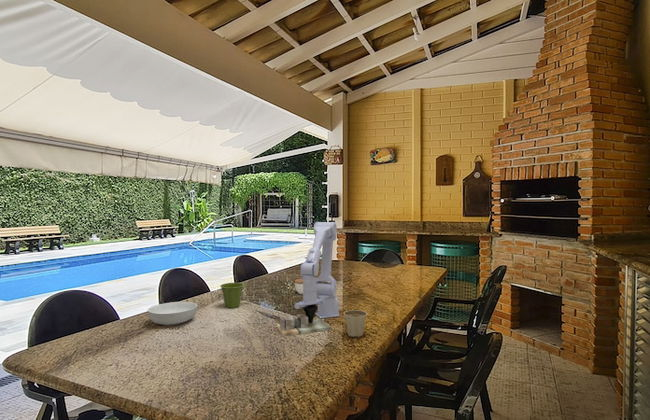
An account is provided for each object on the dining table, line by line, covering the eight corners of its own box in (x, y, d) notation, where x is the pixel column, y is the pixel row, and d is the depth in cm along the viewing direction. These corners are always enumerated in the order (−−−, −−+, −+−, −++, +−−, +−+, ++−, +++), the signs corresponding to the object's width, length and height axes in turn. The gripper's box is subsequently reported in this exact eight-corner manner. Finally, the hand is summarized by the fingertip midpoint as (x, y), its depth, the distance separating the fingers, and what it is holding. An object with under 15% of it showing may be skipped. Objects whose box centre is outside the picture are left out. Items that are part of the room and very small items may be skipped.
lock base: (321, 321, 169) (321, 309, 169) (331, 329, 158) (331, 317, 158) (276, 327, 162) (276, 314, 162) (283, 336, 150) (283, 323, 150)
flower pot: (369, 332, 155) (369, 311, 155) (364, 339, 146) (364, 317, 146) (347, 329, 158) (347, 309, 158) (341, 337, 149) (340, 315, 149)
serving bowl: (207, 318, 176) (207, 303, 176) (172, 332, 157) (171, 315, 157) (174, 313, 184) (174, 299, 184) (137, 326, 165) (136, 310, 165)
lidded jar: (292, 292, 226) (291, 276, 226) (308, 290, 231) (308, 275, 231) (298, 296, 216) (298, 279, 216) (315, 294, 221) (315, 278, 221)
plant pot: (215, 308, 192) (215, 286, 192) (229, 302, 203) (229, 281, 203) (235, 310, 188) (234, 288, 187) (248, 304, 199) (248, 283, 198)
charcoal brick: (305, 323, 162) (305, 317, 162) (308, 325, 159) (308, 319, 159) (285, 326, 158) (285, 319, 158) (287, 328, 156) (287, 321, 156)
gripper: (317, 286, 168) (317, 317, 168) (290, 291, 159) (290, 323, 159) (327, 289, 163) (327, 320, 163) (300, 294, 154) (300, 327, 154)
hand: (310, 322), depth 161 cm, fingers closed
